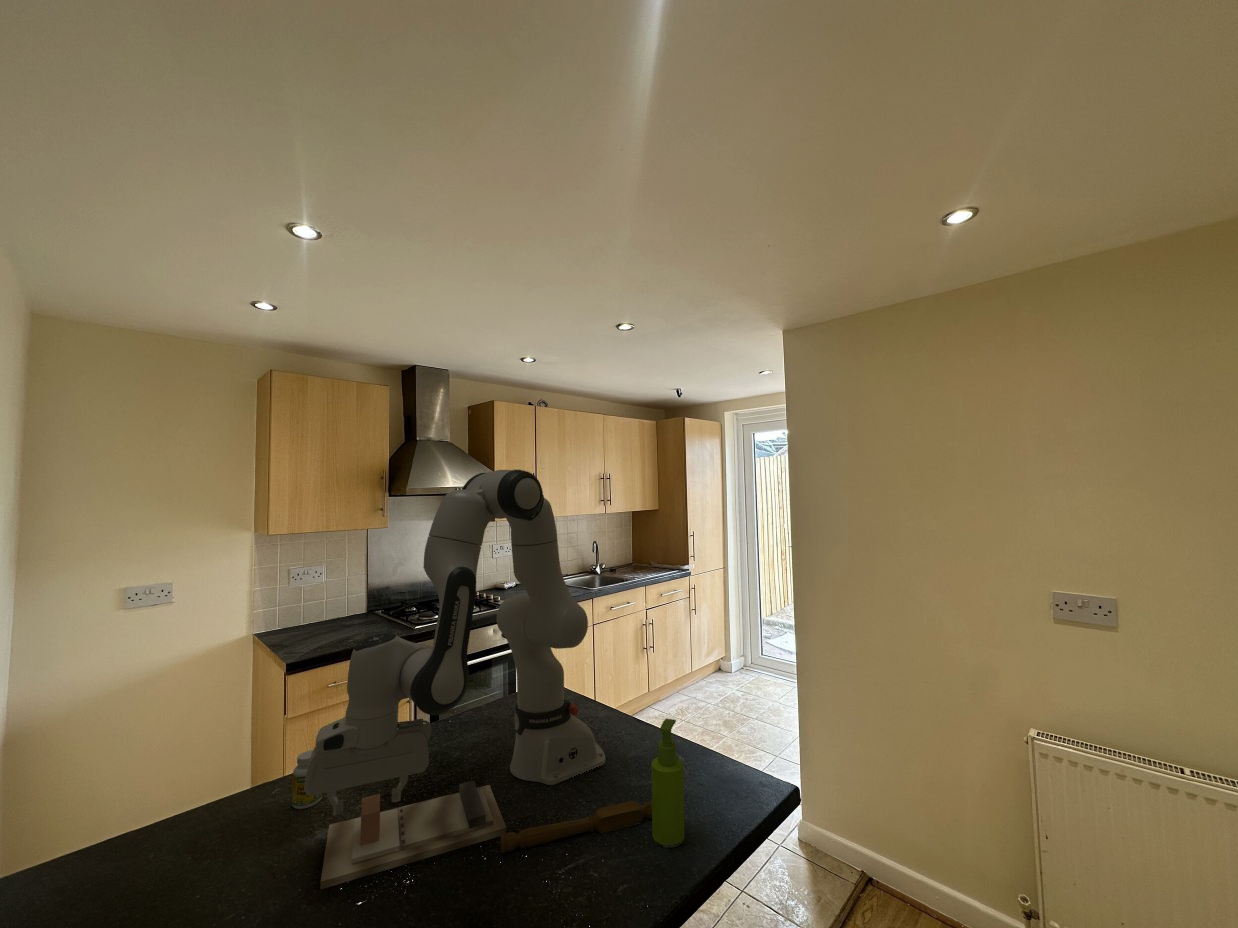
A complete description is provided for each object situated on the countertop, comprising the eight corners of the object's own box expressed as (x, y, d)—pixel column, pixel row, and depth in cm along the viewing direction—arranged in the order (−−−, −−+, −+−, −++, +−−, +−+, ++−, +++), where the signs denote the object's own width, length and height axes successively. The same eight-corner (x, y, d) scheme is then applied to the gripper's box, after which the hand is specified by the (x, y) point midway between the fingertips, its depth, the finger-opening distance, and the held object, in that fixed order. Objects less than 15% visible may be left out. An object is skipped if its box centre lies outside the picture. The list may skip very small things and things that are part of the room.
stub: (397, 812, 98) (397, 781, 98) (399, 850, 87) (400, 815, 87) (354, 823, 95) (355, 791, 95) (351, 863, 84) (352, 827, 84)
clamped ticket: (489, 790, 107) (489, 772, 108) (506, 834, 93) (506, 813, 93) (329, 831, 94) (329, 811, 95) (320, 889, 80) (321, 865, 80)
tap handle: (500, 829, 90) (652, 796, 100) (500, 847, 90) (652, 812, 100) (501, 840, 87) (658, 804, 97) (501, 858, 87) (659, 821, 97)
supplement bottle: (321, 791, 108) (323, 745, 108) (322, 803, 103) (324, 755, 104) (291, 800, 105) (293, 752, 105) (291, 813, 100) (293, 763, 101)
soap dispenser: (688, 827, 94) (686, 718, 96) (680, 851, 88) (678, 733, 90) (658, 821, 96) (656, 714, 98) (648, 844, 90) (647, 729, 91)
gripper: (430, 710, 99) (427, 784, 98) (310, 730, 90) (304, 811, 89) (433, 722, 93) (430, 801, 92) (305, 744, 84) (300, 831, 83)
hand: (367, 806), depth 90 cm, fingers open, 8 cm apart
